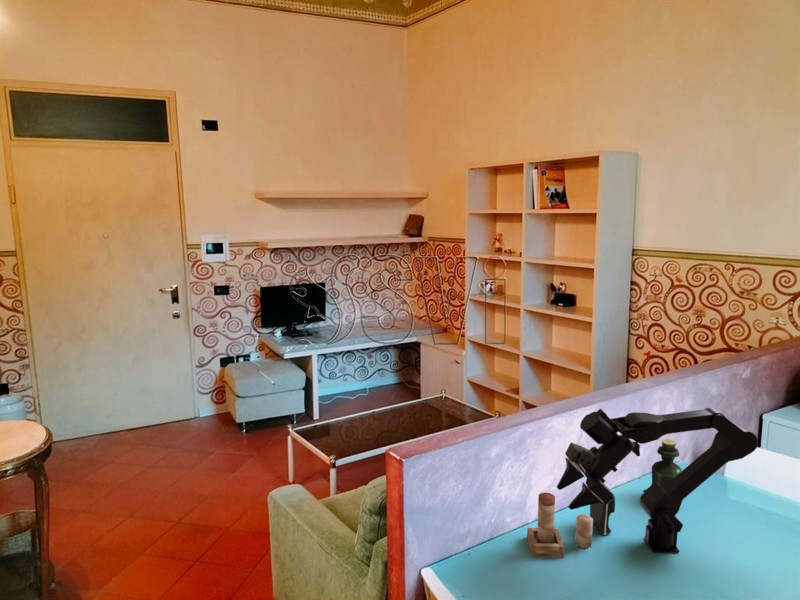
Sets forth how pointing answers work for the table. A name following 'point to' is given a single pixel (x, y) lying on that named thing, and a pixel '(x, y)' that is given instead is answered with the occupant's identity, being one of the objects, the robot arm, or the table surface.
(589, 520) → the short pin
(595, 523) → the battery charger
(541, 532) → the long pin
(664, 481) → the potion bottle
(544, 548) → the light brown square frame
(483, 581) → the table surface
